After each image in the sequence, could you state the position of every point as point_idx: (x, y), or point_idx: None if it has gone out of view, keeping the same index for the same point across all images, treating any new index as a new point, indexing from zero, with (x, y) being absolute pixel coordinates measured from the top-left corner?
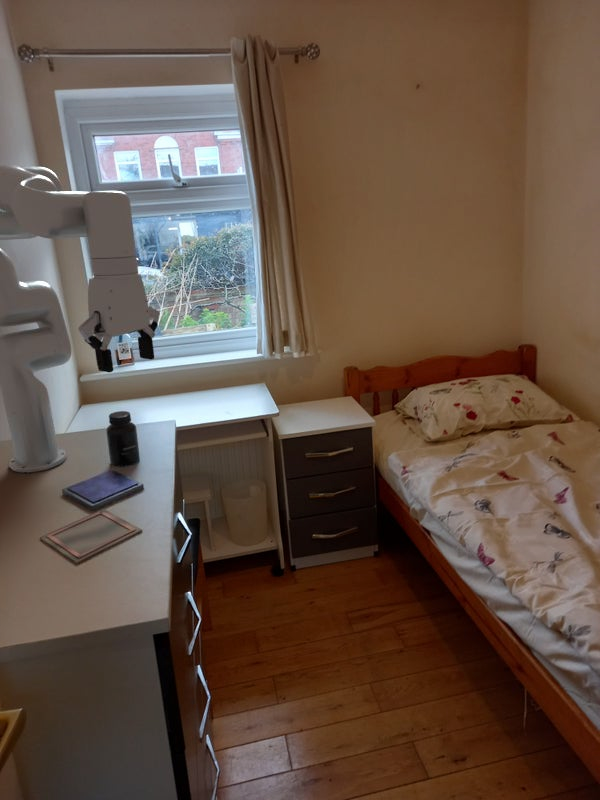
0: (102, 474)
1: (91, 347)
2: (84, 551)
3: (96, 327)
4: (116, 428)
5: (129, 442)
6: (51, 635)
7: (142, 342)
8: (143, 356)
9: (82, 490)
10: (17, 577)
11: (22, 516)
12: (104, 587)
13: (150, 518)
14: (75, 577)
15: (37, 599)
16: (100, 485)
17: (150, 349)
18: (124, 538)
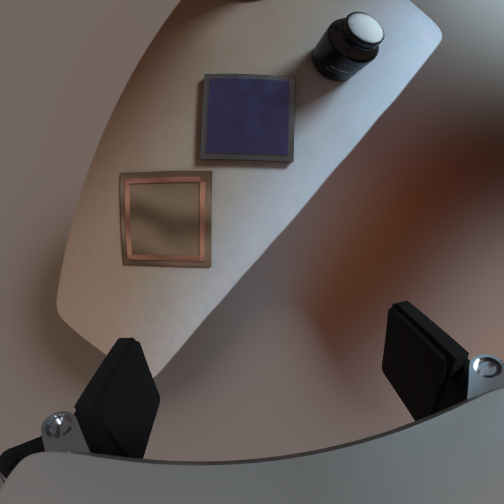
0: (272, 82)
1: (48, 418)
2: (138, 250)
3: (55, 492)
4: (341, 41)
5: (346, 68)
6: (78, 332)
7: (426, 379)
8: (390, 333)
9: (218, 104)
10: (78, 232)
11: (137, 96)
12: (128, 319)
13: (239, 245)
14: (115, 282)
15: (80, 283)
16: (245, 112)
17: (401, 397)
18: (184, 265)
